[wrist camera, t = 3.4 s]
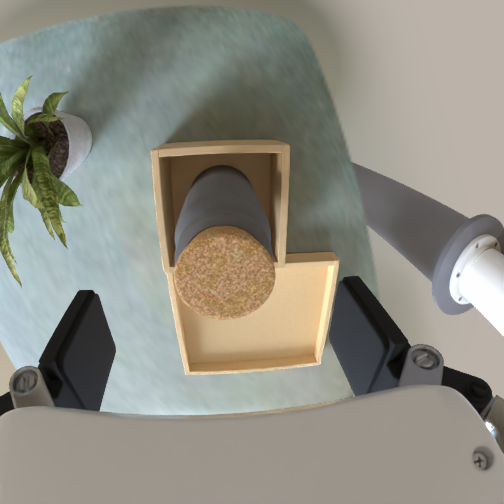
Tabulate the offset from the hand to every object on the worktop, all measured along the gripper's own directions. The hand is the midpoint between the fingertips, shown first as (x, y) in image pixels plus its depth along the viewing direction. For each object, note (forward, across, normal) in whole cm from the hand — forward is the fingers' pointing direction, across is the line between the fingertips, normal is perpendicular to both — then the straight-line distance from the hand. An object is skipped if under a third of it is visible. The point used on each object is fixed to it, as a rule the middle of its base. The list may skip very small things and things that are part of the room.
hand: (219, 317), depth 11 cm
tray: (+18, -4, +14) cm, 23 cm away
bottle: (+18, 0, 0) cm, 18 cm away
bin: (+18, 0, 0) cm, 18 cm away
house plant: (+19, +16, -6) cm, 25 cm away
